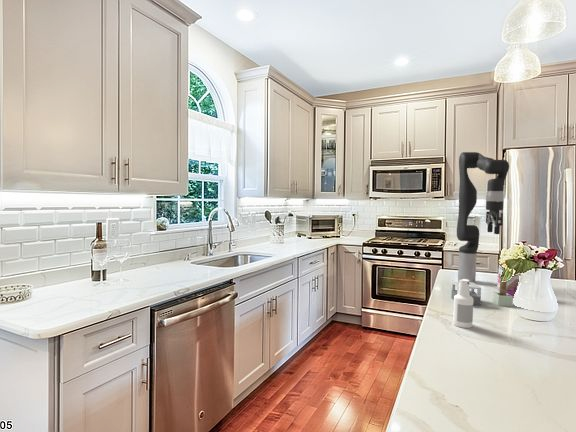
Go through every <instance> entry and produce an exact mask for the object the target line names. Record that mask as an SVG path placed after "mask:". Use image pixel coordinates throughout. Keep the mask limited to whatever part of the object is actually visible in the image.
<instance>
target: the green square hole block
mask: <svg viewBox="0 0 576 432" xmlns="http://www.w3.org/2000/svg"><path fill="white" fill-rule="evenodd" d="M492 295H493V298H492V299H493V300H492V303H494V304H495V305H497V306H498V307H513V303H514V302H513V301H514V299H513V298H514V297H513V296H511V295H509V294H508V293H506V296H500V293H497V291H496V292H493V294H492Z"/></svg>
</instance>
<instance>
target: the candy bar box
mask: <svg viewBox="0 0 576 432" xmlns="http://www.w3.org/2000/svg"><path fill="white" fill-rule="evenodd" d="M502 272H503V268H502V267H501V266H500V265H499V264H498V273H497V286H496V293H500V275H501V274H502ZM518 282H519V276H518V275H514V276H512V278H511V279H510V280H508V281H507V283H506V293H508V294H509V295H511V296H514V294H515V292H516V290H517V286H518Z"/></svg>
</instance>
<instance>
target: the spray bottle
mask: <svg viewBox="0 0 576 432" xmlns="http://www.w3.org/2000/svg"><path fill="white" fill-rule="evenodd" d="M458 282H459V281H458ZM470 286H471V285H469V280H467V279H462V280H460V282H459V290H458V294H457V295H455V296H454V300H453V314H452V318H453V319H452V324H453V325H454V326H456V327H459V328H462V329H463V328H464V329H470V328H473V323H474V322H473V321H474V320H473V318H474V305H473V300H474V299H473V298H472V297H471V296H470V291H471V289H470Z"/></svg>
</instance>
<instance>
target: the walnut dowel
mask: <svg viewBox="0 0 576 432" xmlns="http://www.w3.org/2000/svg"><path fill="white" fill-rule="evenodd" d="M506 283H507V281H506V282H500V296H506Z"/></svg>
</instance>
